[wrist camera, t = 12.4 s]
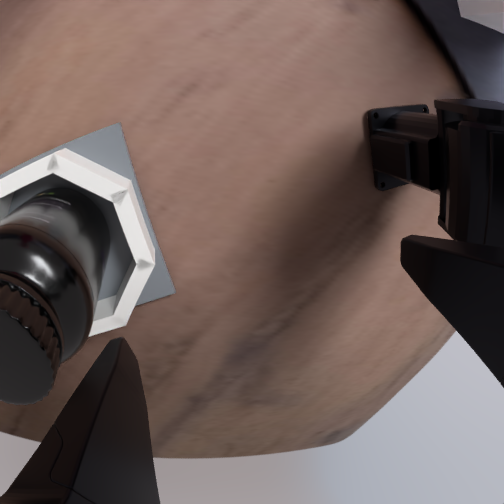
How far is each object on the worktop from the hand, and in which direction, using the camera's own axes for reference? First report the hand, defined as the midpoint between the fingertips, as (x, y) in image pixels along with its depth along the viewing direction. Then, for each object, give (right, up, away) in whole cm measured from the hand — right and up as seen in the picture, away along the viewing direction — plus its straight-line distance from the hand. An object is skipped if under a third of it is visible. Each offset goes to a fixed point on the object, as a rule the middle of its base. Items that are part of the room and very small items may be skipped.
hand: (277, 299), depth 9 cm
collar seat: (-13, +2, +10) cm, 16 cm away
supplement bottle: (-13, +2, +9) cm, 16 cm away
